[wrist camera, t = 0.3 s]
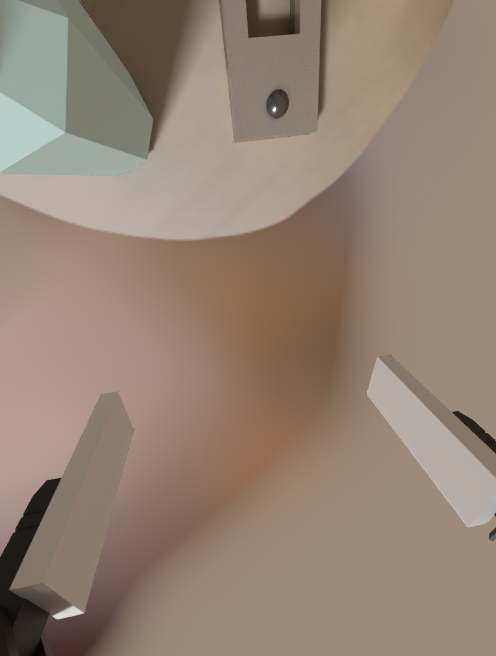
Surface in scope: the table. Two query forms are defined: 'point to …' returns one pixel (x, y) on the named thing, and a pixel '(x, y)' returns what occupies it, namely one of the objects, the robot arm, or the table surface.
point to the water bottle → (65, 95)
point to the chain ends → (272, 73)
